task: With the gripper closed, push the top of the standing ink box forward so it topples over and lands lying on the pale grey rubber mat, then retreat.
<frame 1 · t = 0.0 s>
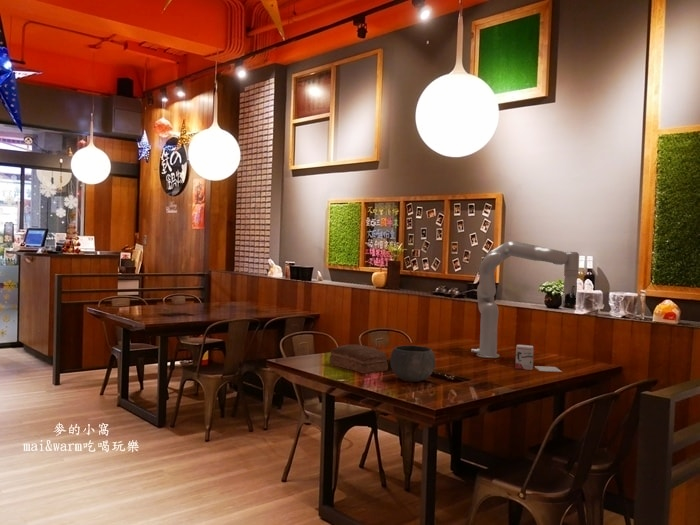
hand: (570, 304, 343), 31 cm above the table, fingers open, 9 cm apart
mat: (547, 369, 312), on the table
bowl: (411, 381, 277), on the table
ink box: (524, 369, 312), on the table
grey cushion: (358, 368, 306), on the table
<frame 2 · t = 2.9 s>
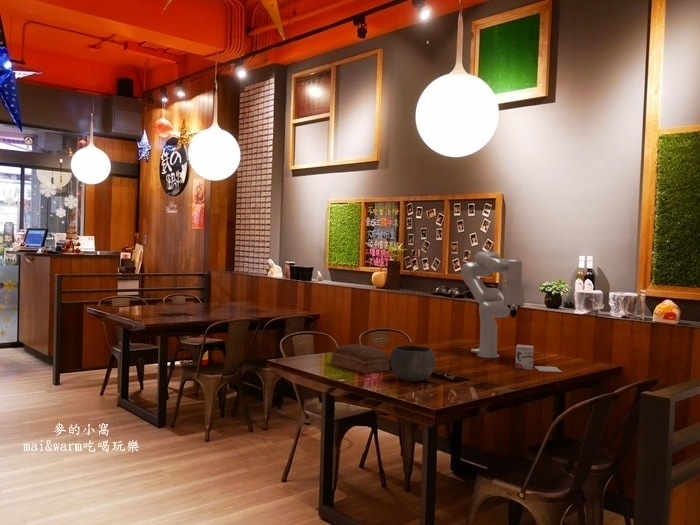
hand: (513, 317, 323), 25 cm above the table, fingers closed
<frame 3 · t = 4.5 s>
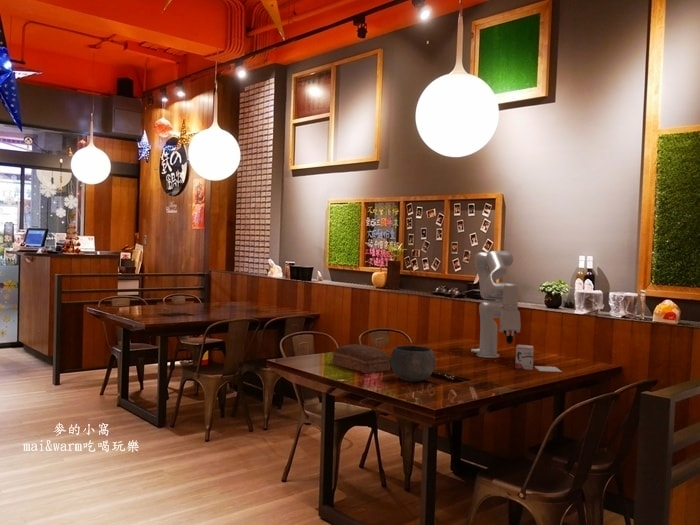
hand: (509, 343, 312), 13 cm above the table, fingers closed
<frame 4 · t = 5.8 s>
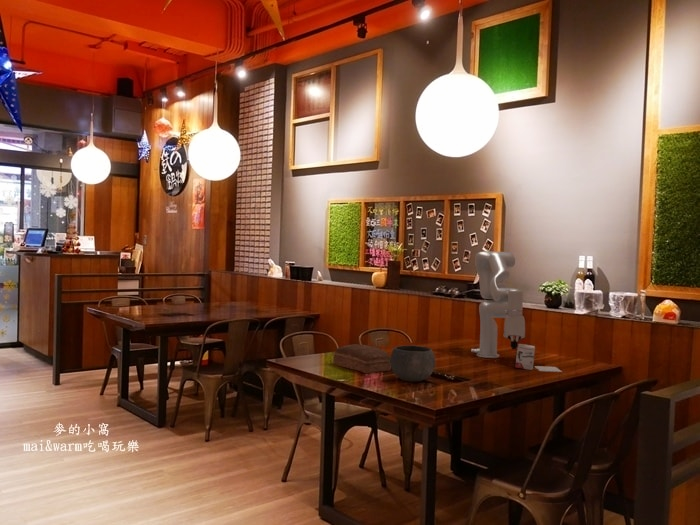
hand: (513, 348, 312), 10 cm above the table, fingers closed
ink box: (524, 368, 312), on the table, touching gripper
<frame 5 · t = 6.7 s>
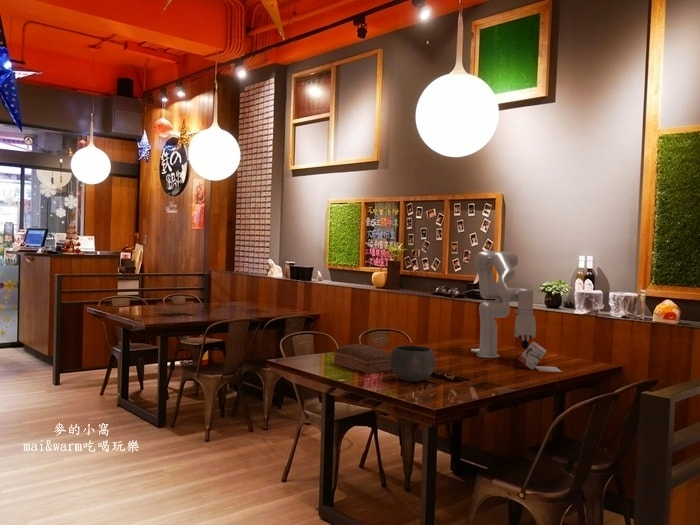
hand: (524, 348, 311), 10 cm above the table, fingers closed
ink box: (525, 364, 312), point 2 cm above the table, touching gripper
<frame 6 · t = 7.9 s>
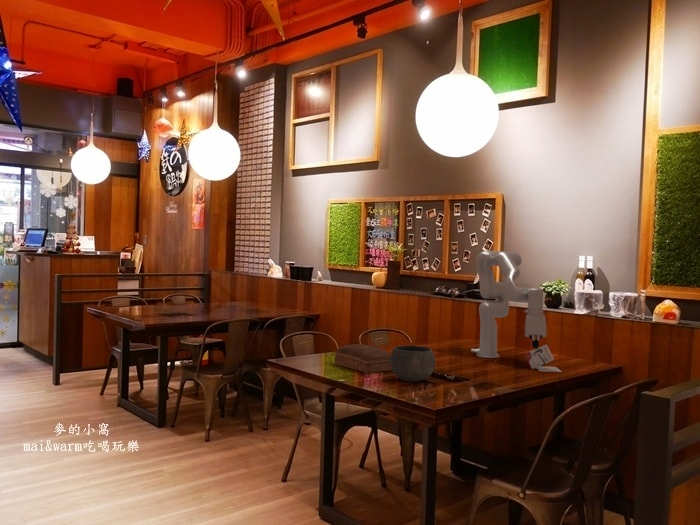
hand: (535, 348, 311), 11 cm above the table, fingers closed
ink box: (528, 361, 312), point 4 cm above the table, touching gripper
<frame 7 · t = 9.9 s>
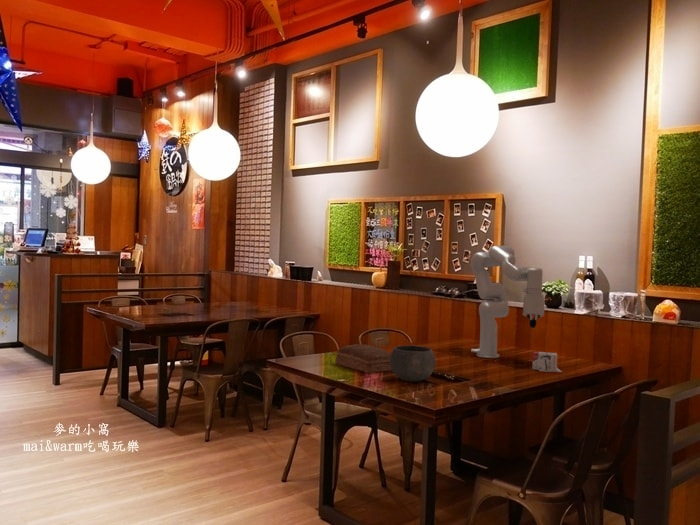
hand: (532, 327, 313), 21 cm above the table, fingers closed
ink box: (532, 360, 311), point 5 cm above the table, touching mat
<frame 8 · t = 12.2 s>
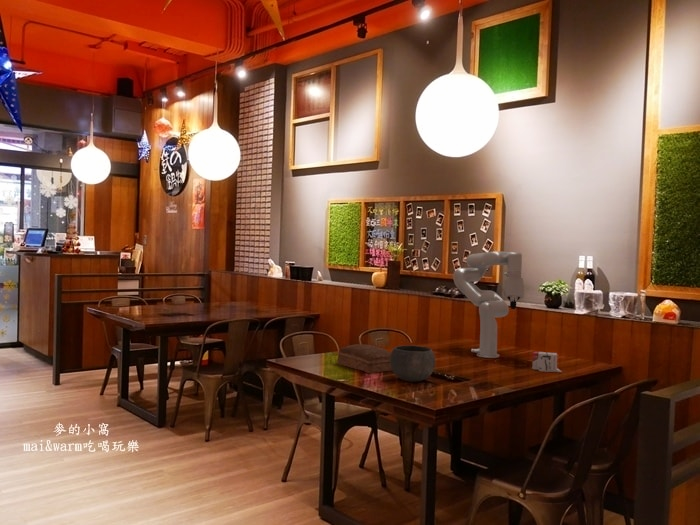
hand: (513, 308, 329), 29 cm above the table, fingers closed
at the end: ink box tilted 89°; ink box inside the target area (6.3 cm from its centre), point 4.5 cm above the table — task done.
